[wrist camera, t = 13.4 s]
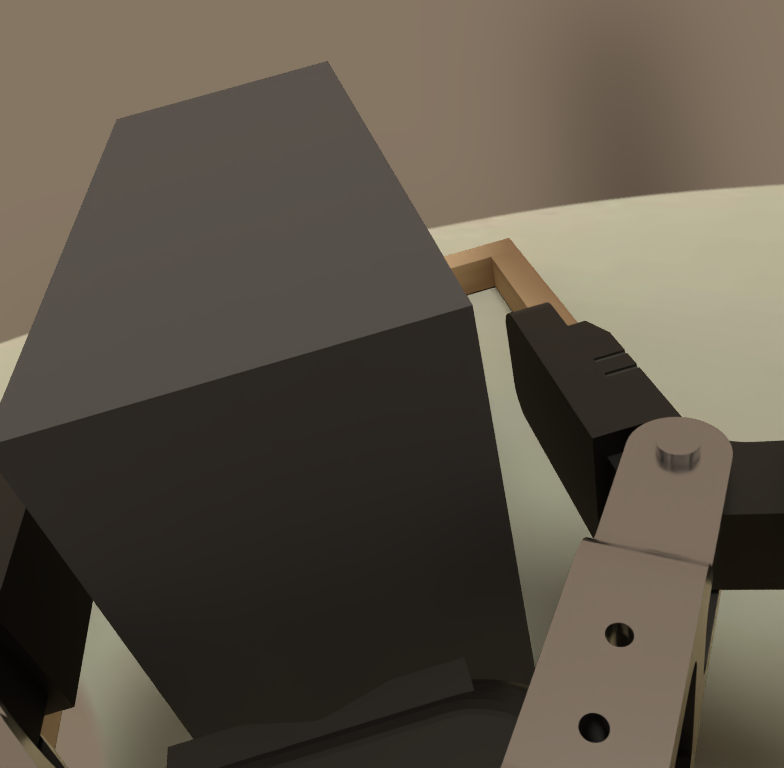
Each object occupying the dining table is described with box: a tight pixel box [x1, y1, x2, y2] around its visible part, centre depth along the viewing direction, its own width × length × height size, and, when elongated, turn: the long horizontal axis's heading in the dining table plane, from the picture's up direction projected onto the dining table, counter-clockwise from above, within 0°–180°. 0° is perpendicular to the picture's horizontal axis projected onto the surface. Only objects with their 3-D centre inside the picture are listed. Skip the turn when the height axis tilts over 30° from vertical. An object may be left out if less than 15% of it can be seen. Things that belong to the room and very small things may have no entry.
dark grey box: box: [0, 61, 535, 739], centre depth 16 cm, size 5×13×10 cm, turn 11°
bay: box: [41, 238, 577, 750], centre depth 21 cm, size 16×15×1 cm
